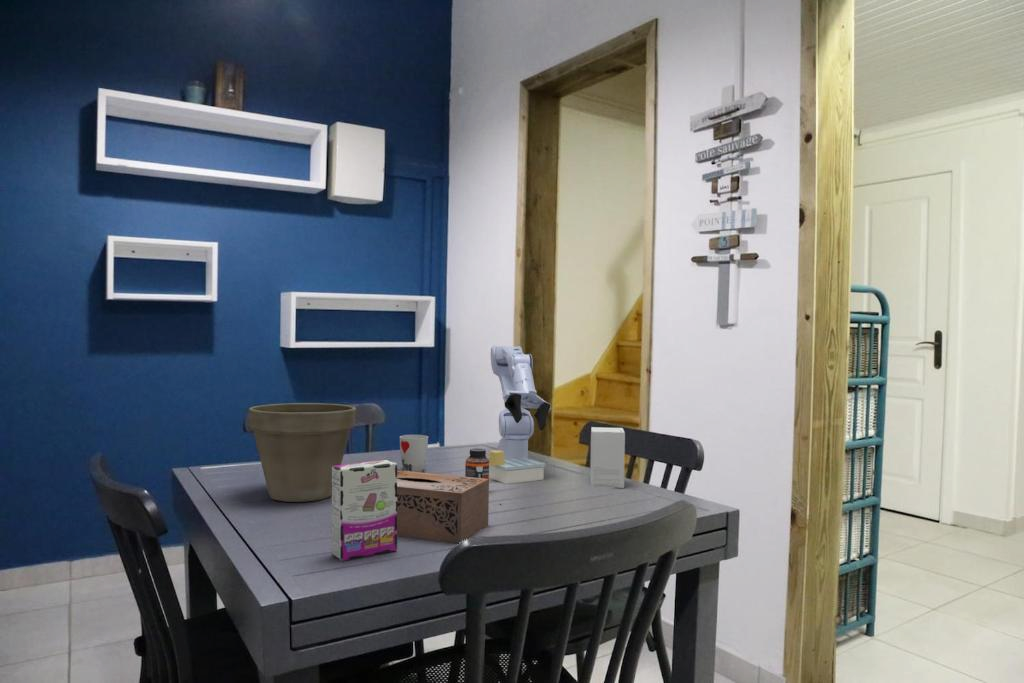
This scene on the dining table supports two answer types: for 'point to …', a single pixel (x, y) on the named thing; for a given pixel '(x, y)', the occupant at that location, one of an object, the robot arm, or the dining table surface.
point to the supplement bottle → (477, 464)
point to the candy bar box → (364, 509)
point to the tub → (516, 474)
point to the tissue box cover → (441, 506)
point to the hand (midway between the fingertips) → (530, 424)
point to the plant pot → (301, 447)
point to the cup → (413, 452)
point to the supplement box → (607, 456)
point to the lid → (511, 461)
